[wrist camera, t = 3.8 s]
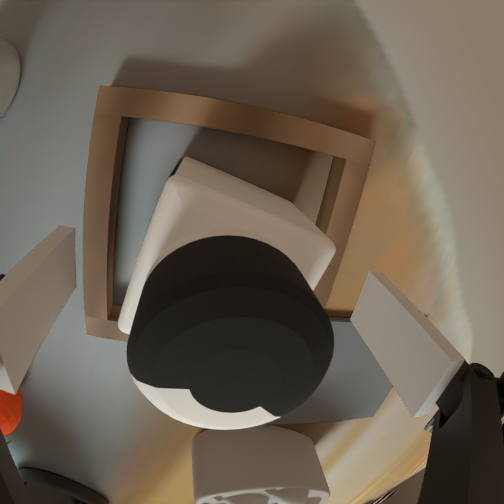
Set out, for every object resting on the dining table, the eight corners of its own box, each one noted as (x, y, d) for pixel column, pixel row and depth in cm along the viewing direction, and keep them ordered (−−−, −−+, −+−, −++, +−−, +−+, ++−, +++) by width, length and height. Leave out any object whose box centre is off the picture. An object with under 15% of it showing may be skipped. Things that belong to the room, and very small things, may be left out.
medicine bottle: (182, 153, 17) (144, 212, 6) (294, 202, 19) (407, 314, 8) (139, 262, 19) (88, 421, 8) (243, 300, 21) (284, 460, 10)
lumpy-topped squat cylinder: (263, 479, 32) (276, 536, 24) (170, 455, 28) (171, 525, 20) (324, 438, 30) (349, 502, 22) (228, 407, 25) (240, 493, 17)
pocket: (93, 319, 20) (86, 334, 18) (109, 88, 15) (99, 85, 13) (298, 342, 23) (305, 358, 21) (361, 138, 18) (375, 141, 16)
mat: (263, 419, 26) (264, 424, 26) (302, 314, 22) (304, 319, 22) (371, 412, 29) (373, 416, 28) (423, 321, 25) (427, 324, 24)
